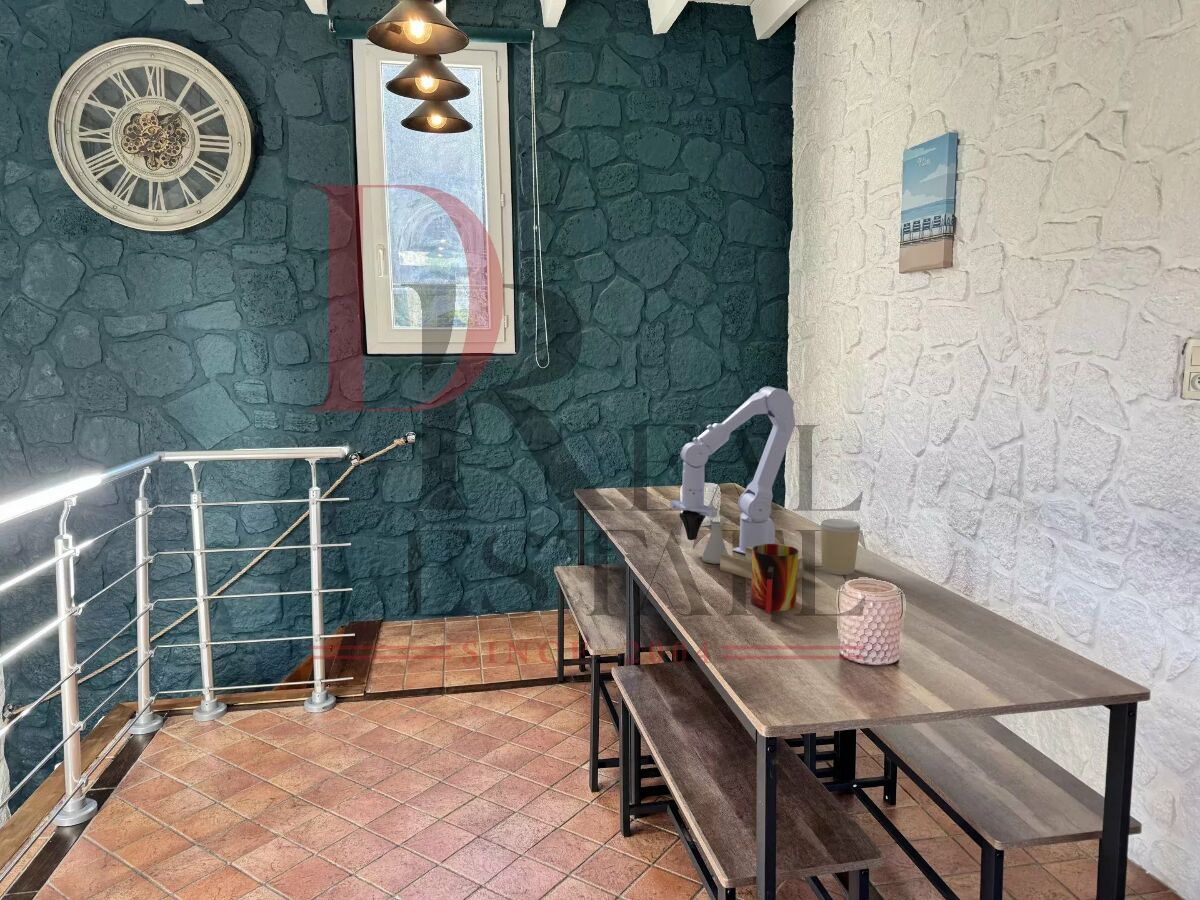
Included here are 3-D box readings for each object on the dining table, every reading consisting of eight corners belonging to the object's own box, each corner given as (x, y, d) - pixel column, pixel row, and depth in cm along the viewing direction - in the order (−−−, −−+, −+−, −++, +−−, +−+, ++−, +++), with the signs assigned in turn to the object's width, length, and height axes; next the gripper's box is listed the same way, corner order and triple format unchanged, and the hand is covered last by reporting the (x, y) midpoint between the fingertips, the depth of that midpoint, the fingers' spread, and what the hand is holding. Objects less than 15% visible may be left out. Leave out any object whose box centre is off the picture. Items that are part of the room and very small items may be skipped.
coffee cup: (860, 567, 201) (862, 520, 199) (854, 578, 193) (857, 529, 191) (821, 562, 205) (824, 516, 203) (815, 572, 197) (817, 525, 195)
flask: (729, 565, 202) (730, 527, 201) (700, 563, 204) (701, 525, 202) (730, 557, 209) (731, 520, 208) (702, 556, 211) (703, 518, 209)
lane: (747, 561, 206) (747, 542, 205) (803, 577, 193) (804, 557, 192) (719, 569, 199) (720, 550, 198) (776, 586, 186) (777, 565, 185)
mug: (766, 619, 165) (768, 562, 164) (744, 596, 179) (746, 544, 177) (810, 616, 167) (813, 561, 165) (786, 595, 180) (788, 543, 179)
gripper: (662, 486, 213) (661, 536, 215) (703, 495, 202) (702, 547, 204) (680, 483, 217) (679, 532, 219) (722, 491, 207) (720, 542, 209)
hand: (692, 539), depth 212 cm, fingers closed
